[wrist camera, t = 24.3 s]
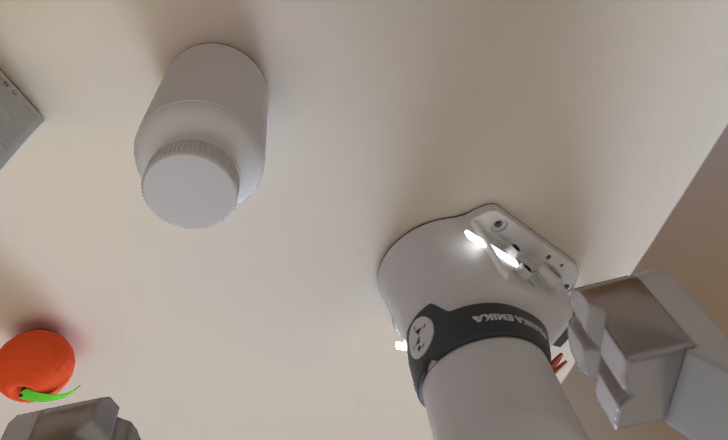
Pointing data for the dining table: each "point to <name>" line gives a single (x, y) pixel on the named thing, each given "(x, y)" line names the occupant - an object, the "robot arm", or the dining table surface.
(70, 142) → the dining table surface
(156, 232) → the dining table surface
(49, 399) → the clementine
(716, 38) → the dining table surface
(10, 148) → the small box
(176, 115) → the pill bottle
